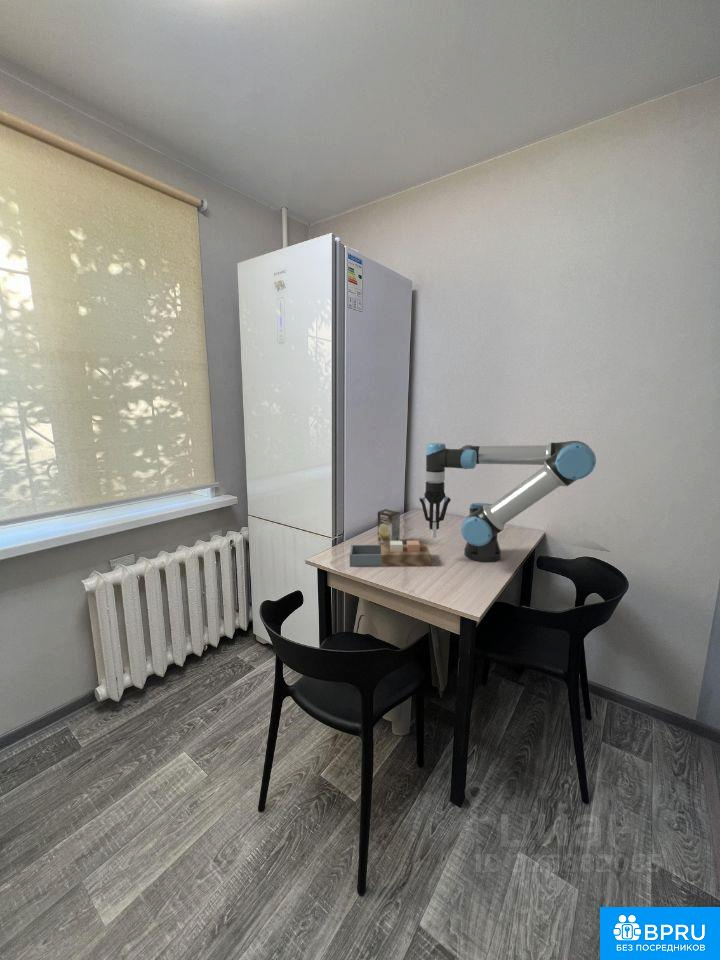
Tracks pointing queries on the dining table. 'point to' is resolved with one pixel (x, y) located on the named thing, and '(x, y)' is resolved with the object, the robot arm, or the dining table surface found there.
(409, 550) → the tile terracotta
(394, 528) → the coffee box
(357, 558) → the box
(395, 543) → the tile cream
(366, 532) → the dining table surface
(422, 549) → the wooden tile board
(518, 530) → the dining table surface
